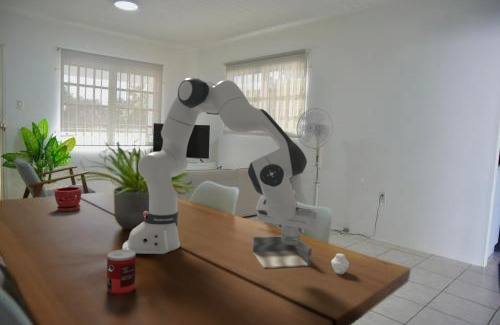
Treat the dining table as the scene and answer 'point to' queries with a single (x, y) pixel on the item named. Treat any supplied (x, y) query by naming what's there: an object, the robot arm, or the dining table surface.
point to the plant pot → (68, 198)
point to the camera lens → (290, 235)
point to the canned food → (121, 271)
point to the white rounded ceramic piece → (340, 263)
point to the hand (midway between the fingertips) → (291, 229)
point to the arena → (280, 252)
